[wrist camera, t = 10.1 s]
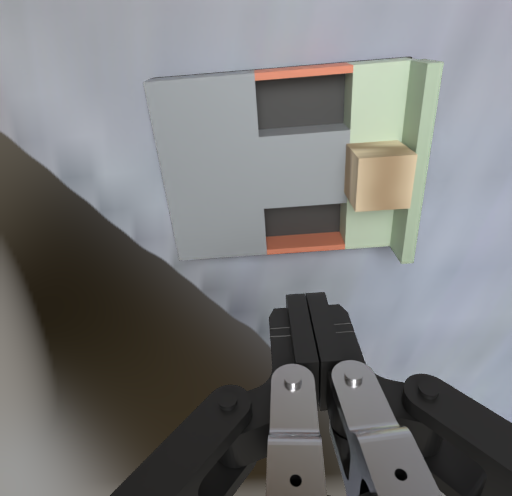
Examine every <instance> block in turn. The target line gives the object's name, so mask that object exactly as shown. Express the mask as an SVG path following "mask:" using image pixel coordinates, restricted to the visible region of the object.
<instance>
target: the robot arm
mask: <svg viewBox="0 0 512 496" xmlns="http://www.w3.org/2000/svg"><path fill="white" fill-rule="evenodd" d="M269 325H270V340H271V354H272V374H271V376H270V378H269V379H268V380H267V381H266V383H264V384H263V385H262V386H260V387H258V388H255V389H253V390H250V391H246V390H245V389H244V388H242V387H240V386H236V385H225V386H222V387H219V388H217V389H216V390H214V391H213V392H212V393H211V394H210V395H209V396H208V397H207V398H206V399H205V400H204V401H203V402H202V403H201V404H200V405H199V406H198V407H197V408H196V409H195V410H194V411H193V412H192V413H191V414H190V415H189V416H188V417H187V418H186V419H185V420H184V421H183V422H182V423H181V424H180V425H179V426H178V427H177V428H176V429H175V430H174V431H173V432H172V433H171V434H170V435H169V436H168V437H167V439H165V440H164V441H163V442H162V443H161V445H159V446H158V448H156V449H155V450H154V452H153V453H152V454H151V455H150V456H149V457H148V458H147V459H146V460H145V461H144V462H143V463H142V464H141V465H140V466H139V467H138V468H137V469H136V470H135V471H134V472H133V473H132V474H131V475H130V476H129V477H128V478H127V479H126V480H125V481H124V482H123V483H122V484H121V485H120V486H119V487H118V488H117V489H116V490H115V491H114V492H113V493H112V494H111V495H110V496H233V495H234V494H235V492H236V491H237V489H238V488H239V487H240V485H241V484H242V483H243V481H244V480H245V479H246V477H247V476H248V475H249V473H250V472H251V470H252V469H253V468H254V466H255V464H256V461H258V460H260V459H263V458H265V457H267V477H266V496H329V495H327V492H326V481H325V471H324V460H323V450H322V440H321V435H320V433H319V423H318V412H317V411H318V401H319V407H320V411H323V410H328V414H329V419H330V426H329V431H330V435H331V439H332V442H333V446H334V449H335V453H336V456H337V460H338V463H339V467H340V470H341V474H342V477H343V481H344V485H345V489H346V494H347V496H442V495H441V493H440V491H441V492H442V493H444V494H445V495H446V496H512V423H511V422H509V421H507V420H506V419H504V418H503V417H501V416H499V415H498V414H496V413H494V412H493V411H491V410H489V409H488V408H486V407H485V406H483V405H481V404H480V403H478V402H476V401H475V400H473V399H471V398H470V397H468V396H467V395H465V394H463V393H462V392H460V391H458V390H457V389H455V388H453V387H452V386H450V385H448V384H447V383H445V382H444V381H442V380H440V379H438V378H437V377H434V376H431V375H427V374H415V375H412V376H410V377H409V378H407V379H406V381H405V383H403V382H398V381H393V380H388V379H385V378H382V377H380V376H378V375H376V374H375V373H374V372H373V370H372V369H371V368H370V367H369V366H367V365H366V363H365V361H364V358H363V355H362V352H361V349H360V346H359V344H358V341H357V338H356V335H355V333H354V329H353V326H352V324H351V321H350V318H349V315H348V312H347V311H346V310H345V309H344V308H343V307H342V306H340V305H339V304H336V305H328V302H327V298H326V295H325V293H324V292H319V293H306V294H290V295H286V308H277V309H273V311H272V313H271V315H270V317H269ZM439 490H440V491H439Z"/></svg>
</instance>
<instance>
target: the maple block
mask: <svg viewBox="0 0 512 496" xmlns="http://www.w3.org/2000/svg"><path fill="white" fill-rule="evenodd" d="M417 156H418V154H416V153H415V152H414V151H412V150H411V149H410V148H408V147H407V146H405V145H404V144H403V143H401V142H400V141H399V140H392V141H378V142H364V143H349V144H346V160H345V181H344V193H345V195H346V197H347V198H348V200H349V202H350V204H351V205H352V207H353V209H354V211H355V212H364V211H379V210H394V209H409V208H410V205H411V198H412V191H413V184H414V177H415V170H416V163H417Z"/></svg>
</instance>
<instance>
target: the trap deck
mask: <svg viewBox="0 0 512 496" xmlns="http://www.w3.org/2000/svg"><path fill="white" fill-rule="evenodd" d="M443 64H444V62H440V61H434V60H427V59H420V60H417V59H412V57H399V58H387V59H375V60H363V61H351V62H338V63H326V64H314V65H302V66H290V67H278V68H266V69H254V70H242V71H230V72H218V73H206V74H194V75H182V76H170V77H158V78H151V79H149V80H147V81H145V82H143V85H144V90H145V95H146V100H147V105H148V110H149V115H150V120H151V124H152V129H153V134H154V139H155V144H156V149H157V154H158V159H159V164H160V169H161V174H162V178H163V183H164V188H165V193H166V198H167V203H168V208H169V213H170V218H171V223H172V228H173V233H174V237H175V242H176V247H177V252H178V257H179V261H182V260H197V259H211V258H226V257H240V256H255V255H269V254H283V253H298V252H312V251H327V250H341V249H355V248H370V247H384V246H390V247H391V249H392V250H393V252H394V253H395V255H396V257H397V258H398V260H399V261H400V263H401V264H407V263H413V262H414V256H415V249H416V242H417V236H418V229H419V223H420V216H421V209H422V203H423V196H424V190H425V183H426V176H427V170H428V163H429V156H430V150H431V143H432V137H433V130H434V123H435V117H436V110H437V103H438V97H439V90H440V84H441V77H442V70H443ZM392 140H399V141H400V142H401V143H403V144H404V145H405V146H407V147H408V148H410V149H411V150H412V151H414V152H415V153H416V154H418V156H417V163H416V170H415V177H414V184H413V191H412V198H411V205H410V208H409V209H394V210H379V211H364V212H355V211H354V209H353V207H352V205H351V204H350V202H349V200H348V198H347V197H346V195H345V193H344V181H345V160H346V144H349V143H364V142H378V141H392Z"/></svg>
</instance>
